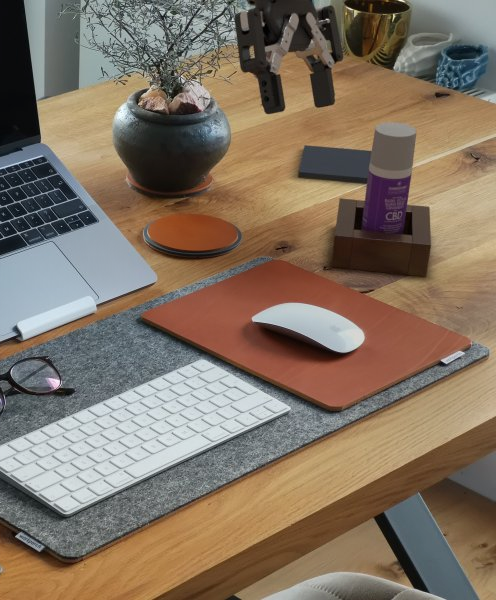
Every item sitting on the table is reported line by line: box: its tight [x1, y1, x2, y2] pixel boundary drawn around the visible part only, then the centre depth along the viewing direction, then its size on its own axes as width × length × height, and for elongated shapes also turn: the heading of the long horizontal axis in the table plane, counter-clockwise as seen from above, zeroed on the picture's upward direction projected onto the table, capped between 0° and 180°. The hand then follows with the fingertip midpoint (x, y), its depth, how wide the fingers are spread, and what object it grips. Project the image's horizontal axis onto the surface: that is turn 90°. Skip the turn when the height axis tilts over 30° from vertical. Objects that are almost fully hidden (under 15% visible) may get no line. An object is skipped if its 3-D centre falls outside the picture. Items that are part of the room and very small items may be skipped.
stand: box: [330, 197, 432, 278], centre depth 128 cm, size 10×10×4 cm
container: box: [361, 121, 417, 234], centre depth 126 cm, size 5×5×15 cm
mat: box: [297, 144, 372, 184], centre depth 151 cm, size 10×10×1 cm
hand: (301, 109), depth 115 cm, fingers open, 8 cm apart
